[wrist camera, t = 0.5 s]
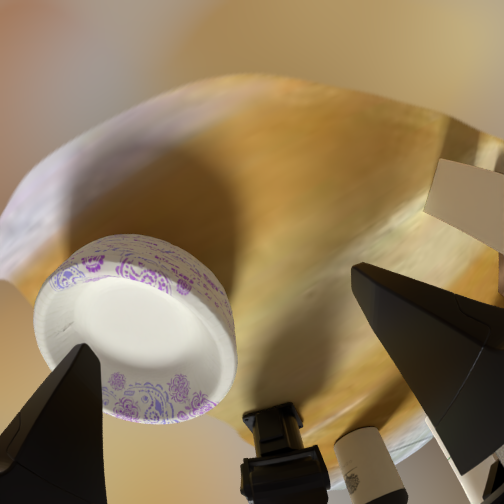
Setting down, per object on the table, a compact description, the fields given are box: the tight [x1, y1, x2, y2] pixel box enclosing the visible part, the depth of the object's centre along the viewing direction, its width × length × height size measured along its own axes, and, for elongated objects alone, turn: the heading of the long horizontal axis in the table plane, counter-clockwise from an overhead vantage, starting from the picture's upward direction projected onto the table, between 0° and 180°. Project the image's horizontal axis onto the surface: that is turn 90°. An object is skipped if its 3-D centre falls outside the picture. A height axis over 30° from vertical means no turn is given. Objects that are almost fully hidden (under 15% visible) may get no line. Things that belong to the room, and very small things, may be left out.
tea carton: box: [423, 158, 504, 255], centre depth 18 cm, size 6×6×12 cm
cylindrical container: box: [425, 416, 495, 504], centre depth 29 cm, size 7×7×25 cm
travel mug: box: [334, 427, 408, 504], centre depth 30 cm, size 8×8×18 cm
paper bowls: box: [33, 234, 238, 424], centre depth 20 cm, size 15×15×8 cm
